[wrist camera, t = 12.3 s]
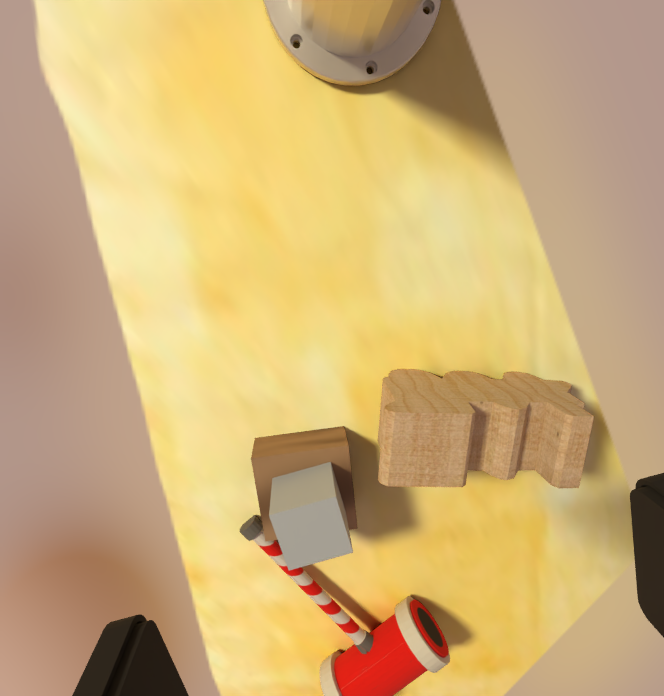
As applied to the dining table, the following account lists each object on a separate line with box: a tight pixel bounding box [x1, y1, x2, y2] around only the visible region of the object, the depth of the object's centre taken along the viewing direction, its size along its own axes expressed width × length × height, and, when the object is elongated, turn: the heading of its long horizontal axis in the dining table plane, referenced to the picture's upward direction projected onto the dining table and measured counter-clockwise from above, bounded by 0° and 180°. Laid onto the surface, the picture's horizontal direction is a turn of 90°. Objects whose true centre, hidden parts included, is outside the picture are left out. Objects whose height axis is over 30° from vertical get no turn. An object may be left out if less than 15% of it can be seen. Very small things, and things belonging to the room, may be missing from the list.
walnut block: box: [251, 426, 357, 542], centre depth 40 cm, size 8×8×4 cm
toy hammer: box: [240, 515, 450, 696], centre depth 42 cm, size 23×12×6 cm, turn 41°
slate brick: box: [269, 462, 353, 570], centre depth 36 cm, size 5×5×5 cm
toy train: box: [378, 369, 594, 488], centre depth 36 cm, size 6×17×10 cm, turn 87°
